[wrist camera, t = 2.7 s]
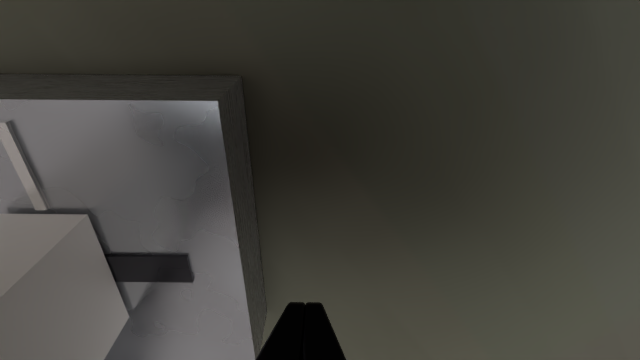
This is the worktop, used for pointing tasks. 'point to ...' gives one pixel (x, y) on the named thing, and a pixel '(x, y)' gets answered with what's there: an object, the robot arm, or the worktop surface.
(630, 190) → the worktop surface
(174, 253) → the console
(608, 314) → the worktop surface
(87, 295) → the fader tab
